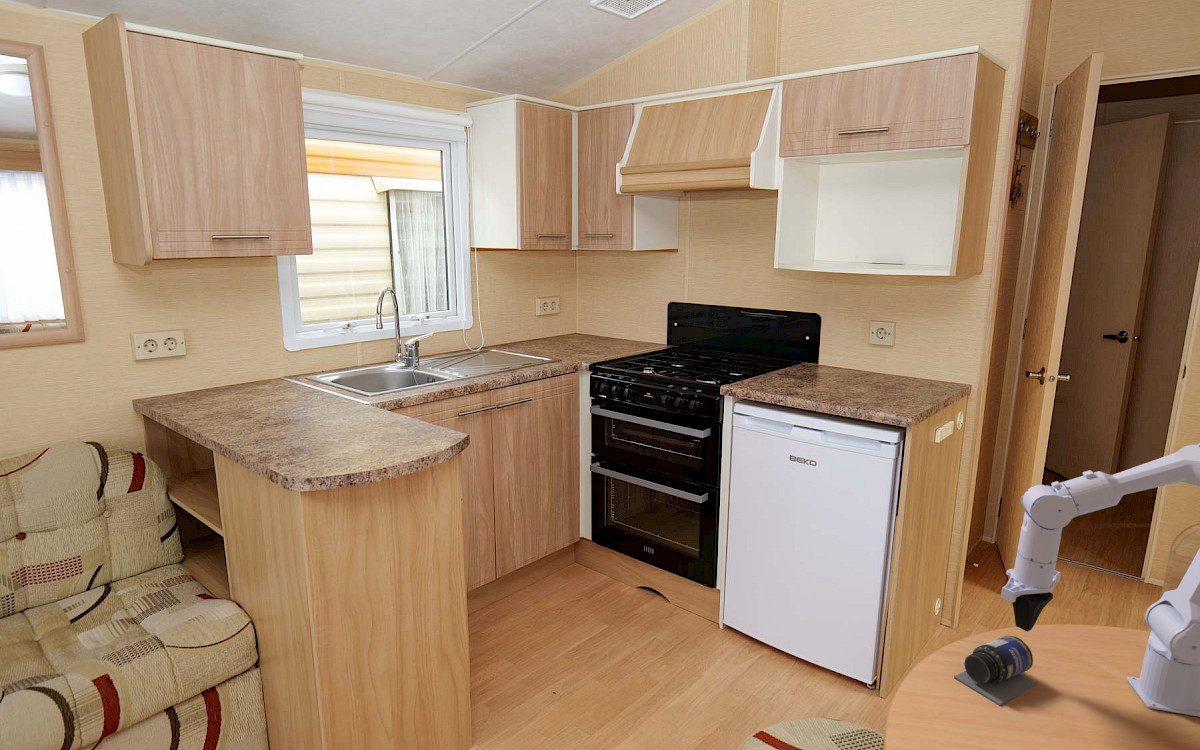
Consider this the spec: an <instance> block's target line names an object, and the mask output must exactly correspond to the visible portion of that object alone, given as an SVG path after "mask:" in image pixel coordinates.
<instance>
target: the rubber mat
mask: <svg viewBox="0 0 1200 750" xmlns="http://www.w3.org/2000/svg"><path fill="white" fill-rule="evenodd" d="M953 679H954V680H957V681H958V682H960V683H962V684H964V686H967V687H968V688H969V689H972V690H973V691H975V692H976V693H978V694H980V695H981V696H983V697H984V698H986V699H988V700H989V701H991V702H993V703H995V704H996V705H998V706H999V707H1000V706H1002V705H1004V704H1006V703H1008V702H1009V701H1011V700H1013V699H1014V698H1016V697H1018V696H1020V695H1021V694H1023V693H1025V692H1027V691H1029V690H1030V689H1032V688H1034V687H1035V686H1037V685H1038V683H1037V682H1035V681H1034V680H1032V679H1029V678H1028V677H1026V676H1025V675H1023V674H1022V673H1021V674H1019V675H1016V676H1014V677H1012V678H1009V679H1007V680H1005V681H1002V682H1000V683H990V682H988V683H985V684H980V683H977V682H975V681H974V680H972V679H971V678H970V676H969V675H968V674H967V672H966V670H964V671H962V672H960V673H958V674H956V675H954V676H953Z"/></svg>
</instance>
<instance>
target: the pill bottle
mask: <svg viewBox="0 0 1200 750" xmlns="http://www.w3.org/2000/svg"><path fill="white" fill-rule="evenodd" d="M963 664H964V670H965V671H966V672H967V674H968V675H969V676H970V678H971V679H972V680H974V681H975V682H977V683H980V684H985V683H988V682H990V683H1000V682H1002V681H1005V680H1007V679H1009V678H1012V677H1014V676H1016V675H1019V674H1021V675H1022V674H1023V673H1025V672H1028V670H1030V669H1031V668H1032V666H1033V665H1034V656H1033V653H1032V651H1031V648H1030V647H1029V646H1028V645H1027V643H1025V642H1024V641H1023V640H1022V639H1020V638H1019V637H1017V636H1014V635H1005V636H1002V637H999V638H996V639H994V640H992V641H990V642H989V641H988V642H987V643H984V644H981V645H979V646H977V647H975V648H974V649H973V651H972V653H971V654H969V655H967V656H966V657H965V660H964V663H963Z"/></svg>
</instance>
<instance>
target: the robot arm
mask: <svg viewBox="0 0 1200 750" xmlns="http://www.w3.org/2000/svg"><path fill="white" fill-rule="evenodd" d="M1177 483H1185V484H1189V485H1193V486H1196V487H1200V442H1199V443H1197V444H1189V445H1185V446H1183V447H1182V448H1180V449H1178V450H1177V451H1175V452H1174V453H1173V452H1172V453H1171V454H1167V455H1165V456H1161V457H1160V458H1156V459H1154V460H1151V461H1148V462H1145V463H1142V464H1139V465H1136V466H1134V467H1131V468H1129V469H1126V470H1123V471H1120V472H1117V473H1113V474H1108V473H1105V471H1095V472H1094V471H1092V470H1091V469H1090V470H1085V471H1083V472H1082V475H1081V476H1078V477H1075V478H1072V479H1068V480H1065V481H1061V482H1059V481H1057V480H1056V481H1054V482H1053V481H1052V482H1051V483H1050V484H1051V486H1050V485H1044V484H1036V485H1034V486H1031V487H1029V488H1028V489H1027V490H1026V491H1025V492H1024V494H1023V495H1021V497H1020V504H1021V506H1022V508H1023V510H1024V514H1023V520H1022V525H1021V529H1020V534H1019V539H1018V545H1017V550H1016V558H1015V561H1014V567H1013V568H1009V569H1007V570H1006V572H1005V574H1006V575H1007V576H1009V579H1008V581H1007V583H1006V584H1005V585H1004V586H1002V587H1001V593H1000V598H1001V599H1003V600H1006V601H1008V602H1010V603H1012V608H1013V615H1014V624H1015V626H1016V627H1017V628H1019V629H1021V630H1023V631H1024V632H1030V631H1032V629H1033V628H1034V626H1035V624H1036V622H1037V621H1038V619H1039V617H1040V614H1041V613H1042V611H1043V609H1044V608H1045V607H1046V606H1047V605H1048V604H1049V603H1050V602H1051V601H1052V600H1053V598H1054V593H1053V592H1052V591H1053V590H1054V587H1055V584H1058V583H1060V579H1061V574H1062V573H1061V572H1060V571H1058V570H1056V566H1057V565H1056V564H1057V560H1058V555H1059V549H1060V546H1061V544H1060V543H1061V540H1062V532H1063V528H1065V527H1066V526H1068V525H1069V524H1070V523H1071V521H1072V520H1073V519H1074V518H1076V517H1079V516H1082V515H1086V514H1090V513H1093V512H1096V511H1100V510H1102V509H1107V508H1110V507H1115V506H1117V505H1118V504H1119V503H1120V501H1121V499H1122V497H1123V496H1125V495H1129V494H1133V493H1138V492H1142V491H1143V492H1144V491H1146V490H1150V489H1157V488H1160V487H1164V486H1169V485H1172V484H1177ZM1144 619H1145V622H1146V624H1147V626H1148V627H1149V628H1150V633H1149V637H1148V639H1147V644H1146V648H1145V649H1146V650H1145V652H1144V658H1143V661H1142V666H1141V671H1140V675H1139V677H1135V676H1127V677H1126V680H1127V681H1128V683H1129V684H1130V685H1131V687H1132V688H1133V689H1134V691H1135V692H1136V694H1137V695H1138V696H1139V698H1140V699H1141V700H1142V701H1143V702H1144V704H1145V706H1147V708H1149V709H1153V710H1160V711H1165V712H1169V713H1170V712H1171V713H1175V714H1182V715H1187V716H1193V717H1199V718H1200V547H1199V548H1198V550H1197V553H1195V555H1194V558H1193V560H1192V561H1191V563H1190V565H1189V567H1188V568H1187V570H1186V572H1185V573H1184V575H1183V578H1182V580H1181V581H1180V583H1179V585H1178V586H1177V588H1176V589H1171V590H1167V591H1164V592H1163V594H1162V595H1161V597H1160V599H1158V600H1157V601H1156V602H1154V603H1152V604H1151V605H1150V606H1148V607H1147V610H1146V611H1145V614H1144Z"/></svg>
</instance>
